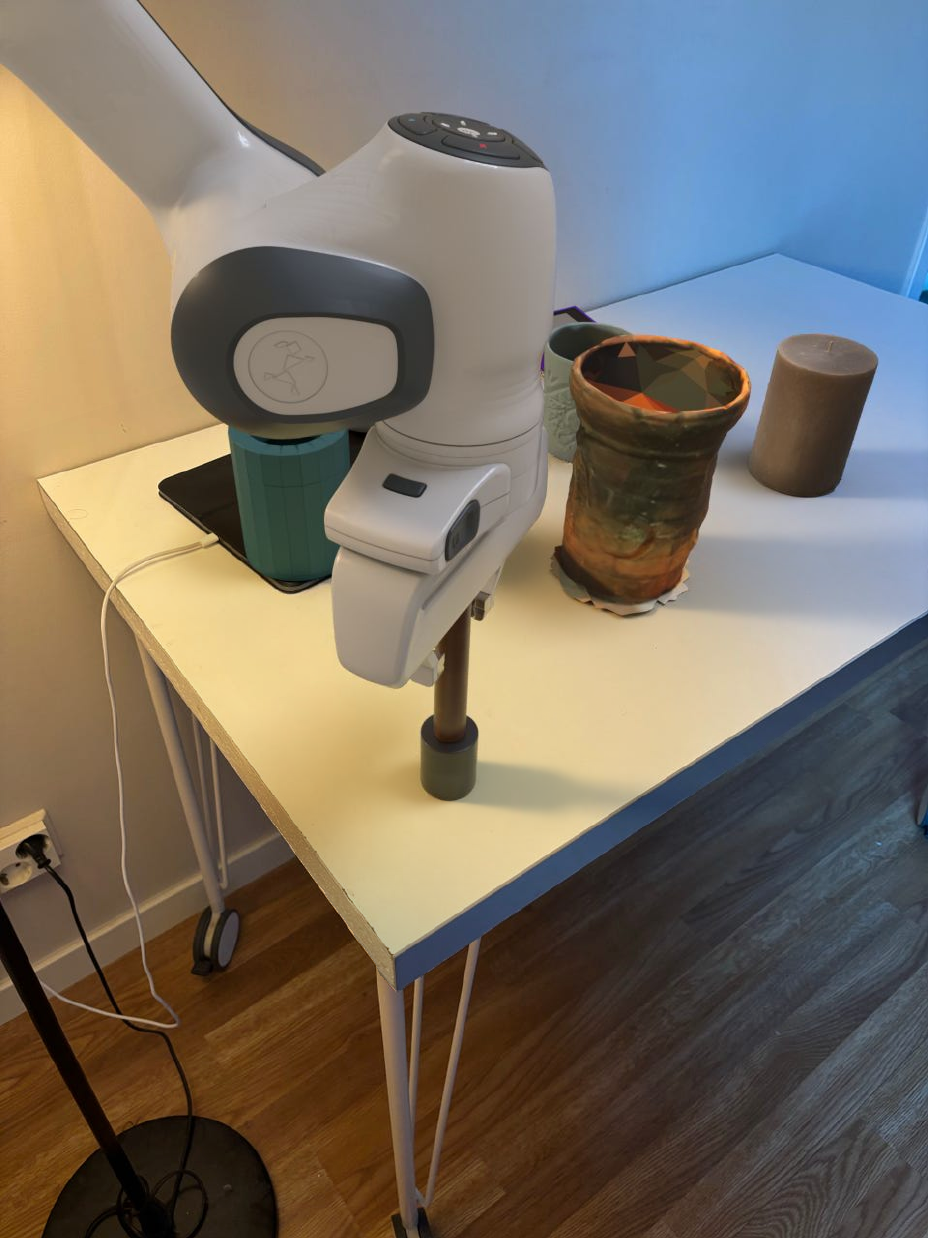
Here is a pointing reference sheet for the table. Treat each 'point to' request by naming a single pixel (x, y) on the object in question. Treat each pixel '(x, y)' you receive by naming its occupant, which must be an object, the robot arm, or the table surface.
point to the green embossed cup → (567, 381)
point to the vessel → (643, 466)
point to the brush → (450, 721)
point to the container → (288, 500)
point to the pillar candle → (811, 413)
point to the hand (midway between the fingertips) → (452, 643)
